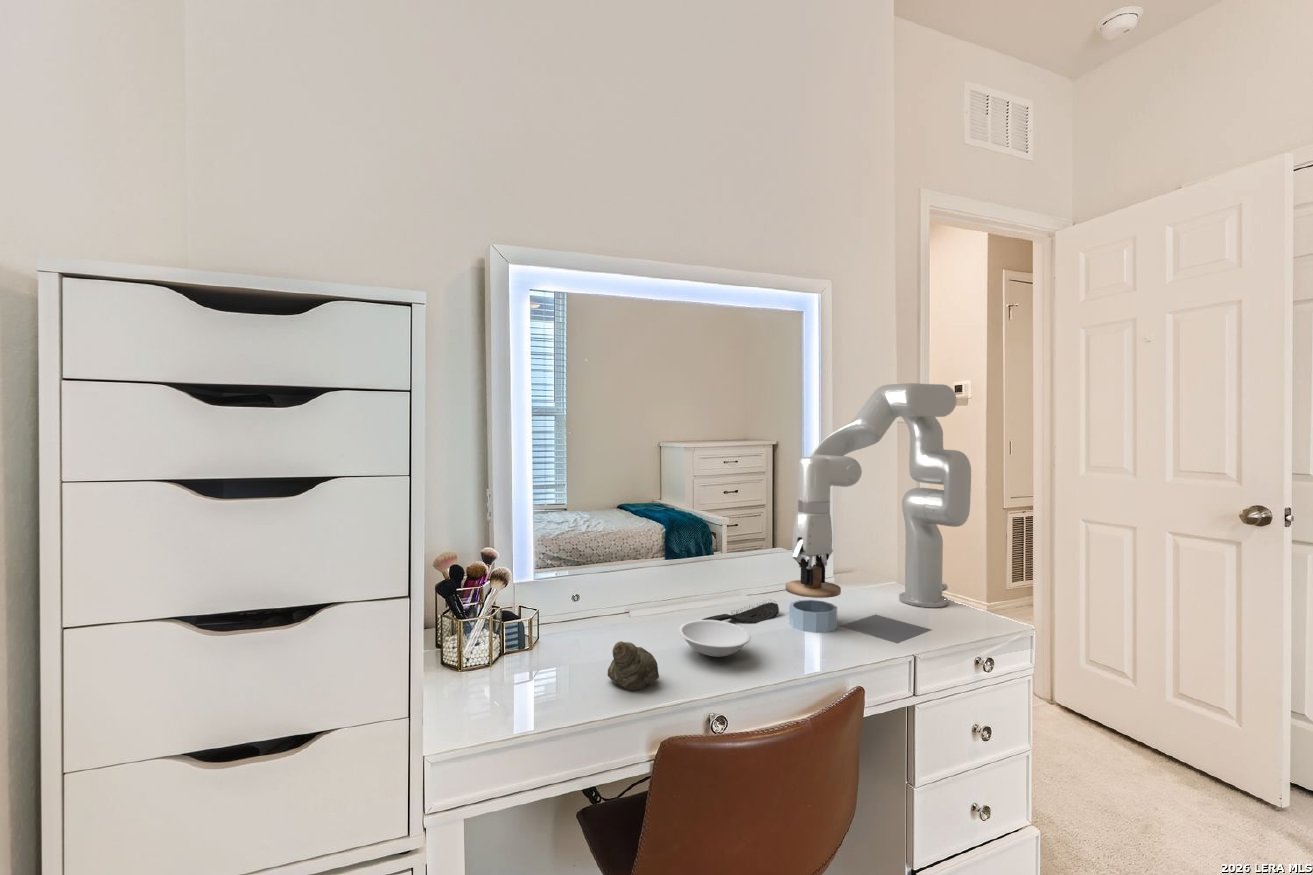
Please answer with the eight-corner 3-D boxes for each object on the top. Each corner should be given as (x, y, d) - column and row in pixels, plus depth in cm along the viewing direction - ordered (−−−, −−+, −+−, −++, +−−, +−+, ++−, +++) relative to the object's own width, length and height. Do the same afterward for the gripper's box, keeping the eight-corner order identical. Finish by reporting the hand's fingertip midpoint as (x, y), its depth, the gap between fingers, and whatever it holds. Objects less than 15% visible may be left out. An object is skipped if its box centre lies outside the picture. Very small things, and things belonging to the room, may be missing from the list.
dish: (765, 665, 127) (765, 640, 127) (703, 676, 121) (703, 650, 121) (723, 637, 143) (723, 616, 143) (666, 646, 138) (666, 624, 137)
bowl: (809, 616, 159) (809, 597, 159) (846, 628, 150) (846, 607, 150) (780, 625, 152) (780, 605, 152) (817, 637, 143) (817, 616, 143)
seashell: (586, 647, 120) (602, 664, 111) (634, 608, 124) (653, 622, 115) (617, 691, 123) (635, 711, 113) (662, 651, 126) (683, 668, 117)
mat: (875, 616, 160) (875, 614, 160) (931, 631, 148) (931, 629, 148) (840, 627, 150) (840, 625, 150) (897, 645, 139) (897, 643, 139)
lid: (807, 581, 160) (808, 559, 160) (851, 591, 150) (852, 569, 150) (774, 589, 152) (774, 566, 152) (818, 600, 142) (818, 576, 142)
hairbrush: (684, 613, 153) (765, 595, 165) (685, 628, 153) (766, 609, 165) (702, 623, 146) (786, 604, 158) (703, 639, 146) (786, 618, 158)
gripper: (822, 504, 159) (821, 575, 159) (778, 508, 148) (777, 585, 149) (847, 507, 153) (846, 581, 153) (804, 512, 142) (803, 591, 143)
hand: (812, 582), depth 151 cm, fingers closed on lid, 4 cm apart
